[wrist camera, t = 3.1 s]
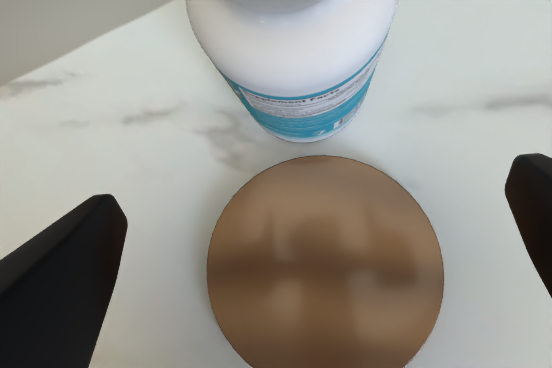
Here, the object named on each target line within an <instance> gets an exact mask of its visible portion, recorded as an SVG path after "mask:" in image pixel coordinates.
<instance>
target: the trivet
mask: <svg viewBox="0 0 552 368" xmlns="http://www.w3.org/2000/svg"><path fill="white" fill-rule="evenodd" d="M207 285H208V293H209V297H210V301H211V305H212V309H213V312H214V314H215V317H216V319H217V322H218V324H219V326H220V328H221V330H222V332H223V333H224V335H225V337H226V338H227V340H228V341H229V343H230V344H231V345H232V347H233V348H234V350H235V351H236V352H237V353H238V354H239V355H240V356H241V357H242V358H243V359H244V360H245V361H246V362H247V363H248V364H249V365H250V366H251V367H253V368H404V367H405V366H406V365H407V364H408V363H409V362H410V361H411V360H412V359H413V358H414V357H415V356H416V355H417V354H418V352H419V351H420V349H421V348H422V347H423V345H424V344H425V343H426V341H427V339H428V337H429V336H430V334H431V332H432V330H433V328H434V325H435V323H436V320H437V317H438V315H439V312H440V307H441V302H442V298H443V287H444V271H443V261H442V256H441V250H440V246H439V243H438V240H437V237H436V234H435V232H434V230H433V228H432V226H431V224H430V222H429V219H428V218H427V216H426V214H425V213H424V211H423V210H422V208H421V207H420V205H419V204H418V203H417V202H416V201H415V199H414V198H413V197H412V196H411V195H410V194H409V192H408V191H406V190H405V189H404V188H403V187H402V186H401V185H400V184H399V183H397V182H396V181H395V180H393V179H392V178H391V177H389V176H388V175H386V174H385V173H383V172H381V171H379V170H377V169H376V168H374V167H372V166H370V165H367V164H364V163H362V162H359V161H356V160H352V159H348V158H343V157H337V156H326V155H320V156H306V157H300V158H294V159H291V160H288V161H285V162H281V163H279V164H277V165H274V166H272V167H270V168H268V169H266V170H264V171H263V172H261V173H260V174H258V175H256V176H255V177H254V178H252V179H251V180H250V181H249V182H247V183H246V184H245V185H244V186H243V187H242V188H241V189H240V190H239V191H238V192H237V193H236V194H235V195H234V196H233V198H232V199H231V200H230V202H229V203H228V204H227V206H226V207H225V209H224V210H223V212H222V214H221V216H220V218H219V219H218V221H217V224H216V226H215V229H214V232H213V234H212V238H211V242H210V245H209V250H208V258H207Z"/></svg>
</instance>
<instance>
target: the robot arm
mask: <svg viewBox="0 0 552 368" xmlns="http://www.w3.org/2000/svg"><path fill="white" fill-rule="evenodd" d="M505 195H506V198H507V201H508V203H509V206H510V208H511V211H512V214H513V216H514V219H515V221H516V224H517V226H518V229H519V231H520V234H521V237H522V239H523V242H524V244H525V247H526V249H527V251H528V254H529V256H530V258H531V260H532V262H533V264H534V266H535V268H536V270H537V272H538V274H539V275H540V277H541V279H542V281H543V283H544V285H545V287H546V288H547V290H548V292H549V294H550V296H551V298H552V158H550V157H548V156H545V155H543V154H539V153H534V154H523V155H519V156H517V157H516V158H515V159H514V161H513V163H512V166H511V169H510V172H509V175H508V178H507V181H506V184H505ZM127 227H128V223H127V218H126V216H125V214H124V213H123V211H122V209H121V208H120V206H119V204H118V202H117V201H116V199H115V198H114V196H112V195H111V194H101V195H94V196H92V197H90V198H89V199H87V200H86V201H84V202H83V203H82V204H80V205H79V206H77V207H76V208H74V209H73V210H72V211H70V212H69V213H67V214H66V215H64V216H63V217H62V218H60V219H59V220H57V221H56V222H54V223H53V224H52V225H50V226H49V227H47V228H46V229H44V230H43V231H42V232H40V233H39V234H37V235H36V236H34V237H33V238H32V239H30V240H29V241H27V242H26V243H24V244H23V245H21V246H20V247H19V248H17V249H16V250H14V251H13V252H11V253H10V254H9V255H7V256H6V257H4V258H3V259H1V260H0V368H88V367H89V364H90V361H91V358H92V354H93V351H94V348H95V345H96V342H97V339H98V336H99V333H100V330H101V327H102V324H103V321H104V318H105V315H106V312H107V309H108V305H109V302H110V299H111V296H112V293H113V290H114V287H115V283H116V279H117V275H118V270H119V266H120V261H121V256H122V251H123V247H124V242H125V237H126V232H127Z"/></svg>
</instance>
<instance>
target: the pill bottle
mask: <svg viewBox="0 0 552 368" xmlns="http://www.w3.org/2000/svg"><path fill="white" fill-rule="evenodd" d="M397 4H398V0H186V7H187V13H188V17H189V20H190V23H191V26H192V29H193V31H194V34H195V36H196V38H197V40H198V42H199V44H200V45H201V47H202V49H203V50H204V51H205V53H206V54H207V56H208V57H209V58H210V60H211V61H212V63H213V64H214V65H215V66H216V68H217V69H218V70H219V72H220V73H221V74H222V76H223V77H224V78H225V80H226V81H227V83H228V84H229V85H230V87H231V88H232V89H233V91H234V92H235V93H236V95H237V96H238V97H239V99H240V100H241V101H242V103H243V104H244V105H245V107H246V108H247V109H248V111H249V112H250V114H251V115H252V116H253V117H254V119H255V120H256V121H257V122H258V123H259V125H261V126H262V127H263V128H264V129H265V130H266V131H268V132H269V133H271V134H272V135H274V136H276V137H278V138H281V139H284V140H287V141H291V142H299V143H306V142H314V141H319V140H322V139H325V138H328V137H330V136H332V135H334V134H336V133H337V132H339V131H340V130H342V129H343V128H344V127H345V126H346V125H348V124H349V123H350V122H351V120H352V119H353V118H354V117H355V115H356V114H357V112H358V111H359V109H360V107H361V105H362V103H363V101H364V98H365V96H366V93H367V90H368V87H369V84H370V81H371V78H372V76H373V73H374V70H375V67H376V65H377V62H378V59H379V56H380V53H381V51H382V48H383V45H384V43H385V40H386V37H387V34H388V32H389V29H390V26H391V23H392V20H393V17H394V14H395V11H396V8H397Z"/></svg>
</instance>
